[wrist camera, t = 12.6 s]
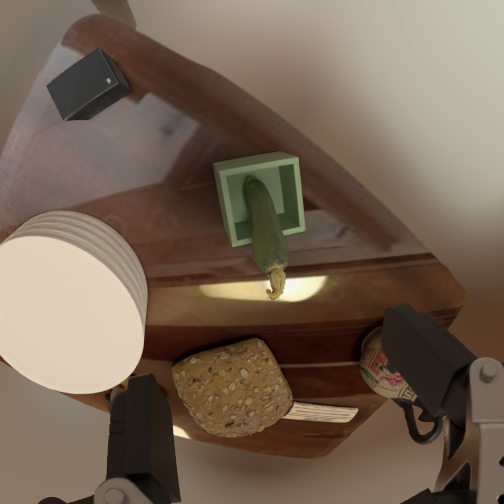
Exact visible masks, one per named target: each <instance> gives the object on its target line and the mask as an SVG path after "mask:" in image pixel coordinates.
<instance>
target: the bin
mask: <svg viewBox="0 0 504 504" xmlns="http://www.w3.org/2000/svg"><path fill="white" fill-rule="evenodd" d="M212 164H213V170H214V175H215V181H216V186H217V192H218V197H219V203H220V208H221V213H222V219H223V224H224V229H225V231H226V233H227V236H228V238H229V240H230V242H231V245H232V247H235V246H240V245H244V244H249V243H252V231H253V227H252V220H251V216H250V213H249V210H248V206H247V203H246V199H245V196H244V189H245V187H244V184H245V183H246V181H247V178H248V177H249V176H250V175H251V176H254V177H255V178H256V179H257V180H260V181H262V182H263V183H264V185H265V186H266V188H267V190H268V192H269V194H270V195H271V198H272V201H273V204H274V208H275V211H276V214H277V217H278V220H279V223H280V226H281V229H282V232H283V234H284V235H288V234H293V233H297V232H302V231H305V222H304V210H303V200H302V189H301V179H300V170H299V160H298V157H296V156H293V155H290V154H287V153H284V152H281V151H278V152H272V153H266V154H260V155H254V156H248V157H242V158H237V159H232V160H226V161H221V162H216V163H212Z"/></svg>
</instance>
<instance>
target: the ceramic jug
mask: <svg viewBox="0 0 504 504" xmlns="http://www.w3.org/2000/svg"><path fill="white" fill-rule="evenodd" d="M382 328H383V326H379V327H377V328H375V329H374V330H372V331H371V332H370V333H369V334H368V335H367V336H366V338H365V339H364V340H363V343H362V347H361V352H362V354H361V358H360V371H361V375H362V377H363V379H364V380H365V382H366V383H367V384H368V385H369V386H370V387H371V388H372V389H373V390H374V391H375V392H377V393H378V394H380V395H382V396H385V397H387V398H389V399H392V400H393V401H394V402H395V403H397V404H398V405H399V406H400V407H402V408H403V409H404V412H405V418H406V421H407V425H408V429H409V434H410V436H411V437H412V439H413V440H414V441H415V442H417V443H419V444H428V443H431V442H432V441H434V440H435V439H436V438H437V437H438V436H439V435H440V433H441V431H442V429H443V420H442V417H443V416H445V415H447V414H446V413H445V412H442V413H441V414H439V415H437V416H436V417H433V416H432V415H431V413H430V412H429V411H428V409H427V408H426V407H425V406H424V404H423V403H422V402H421V401H420V399H419V398H418V397H417V395H416V394H415V393H414V392H413V390H412V389H411V388H410V387H409V385H408V384H407V383H406V382H405V380H404V379H403V378H402V377H401V375H400V374H399V373H398V372H397V370H396V369H395V368H394V367H393V365H392V364H391V363H390V362H389V360H388V359H387V358H386V357H385V355H384V353H383V351H382V348H381V336H382ZM412 405H415V406H417V407H420V408H422V410H423V412H422V414H421V415H420V416H419V418H418V419H419V420H420V421H422V422H434V423H435V425H434V427H433V429H432V430H431V431H430V432H429V433H427V434H426V435H420V434H419V432H418V429H417V426H416V422H415V419H414V414H413V408H412Z"/></svg>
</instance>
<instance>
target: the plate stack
mask: <svg viewBox="0 0 504 504" xmlns="http://www.w3.org/2000/svg"><path fill="white" fill-rule="evenodd" d="M147 297H148V292H147V283H146V278H145V274H144V271H143V268H142V266H141V264H140V261H139V259H138V258H137V256H136V254H135V253H134V251H133V249H132V248H131V247H130V245H129V244H128V243H127V242H126V241H125V240H124V238H123V237H122V236H121V235H120V234H118V233H117V232H116V231H115V230H114V229H113V228H111V227H110V226H108V225H107V224H105V223H104V222H102V221H100V220H98V219H96V218H94V217H92V216H90V215H87V214H84V213H80V212H76V211H69V210H56V211H49V212H45V213H42V214H39V215H37V216H35V217H33V218H31V219H30V220H28V221H27V222H25V223H24V224H23V225H22V226H21V227H19V228H18V229H17V230H16V231H15V232H14V233H12V234H11V235H10V236H9V237H8V238H7V239H5V240H4V241H3V242H2V243H1V244H0V355H1V356H2V357H3V358H4V359H5V361H6V362H8V363H9V364H10V365H11V366H12V367H13V368H14V369H15V370H17V371H18V372H19V373H21V374H22V375H24V376H25V377H27V378H28V379H30V380H32V381H34V382H36V383H38V384H40V385H42V386H45V387H47V388H50V389H53V390H57V391H61V392H66V393H73V394H89V393H96V392H101V391H104V390H107V389H110V388H112V387H114V386H116V385H118V384H120V383H121V382H122V381H124V380H125V379H126V378H127V377H128V376H129V375H130V374H131V373H132V372H133V371H134V369H135V368H136V366H137V364H138V362H139V360H140V358H141V354H142V351H143V344H144V331H145V319H146V308H147Z"/></svg>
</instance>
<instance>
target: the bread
mask: <svg viewBox="0 0 504 504" xmlns="http://www.w3.org/2000/svg"><path fill="white" fill-rule="evenodd" d="M171 371H172V374H171V375H172V376H173V379H174V382H175V386H176V388H177V390H178V391H179V392H178V395H179V397H180V398H181V399H182V400H183V402H184V403H183V404H184V405H186V407H187V409H188V411H189V412H190V415H192V416H193V417H194V418H193V420H194V421H195V422H196V423H198V425H200V426H201V427H202V428H204V429H206V431H207V432H208V433H210V434H212V433H213V434H214V435H217V436H219V437H221V436H223V437H224V436H225V437H237V436H240V437H241V436H245V435H252V433H255V432H257V431H258V432H260V431H262V430H263V429H264V428H266V427H268V426H271V425H272V424H274V423H275V422H276V421H277V420H278V419H279V418H281V417H283V416H284V413H286V412H287V410H288V408H289V407H291V401H292V399H293V398H292V396H293V395H291V393H292V391H291V390H290V386H289V385H288V382H287V380H286V379H285V377H284V376H283V374H282V372H281V369H280V365H278V363H277V361H276V360H275V358H274V356H273V354H272V352H271V351H270V350H269V348H268V346H267V345H266V344H265V343H264V341H263V340H260V339H258V338H253V339H248V340H245V341H242V342H239V343H235V344H231V345H227V346H223V347H218V348H215V349H211V350H207V351H203V352H200V353H198V354H194V355H191V356H189V357H187V358H185V359H183V360H181V361H180V362H178V363H177V364H176V365H175V366H173V367H172V368H171Z"/></svg>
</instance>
